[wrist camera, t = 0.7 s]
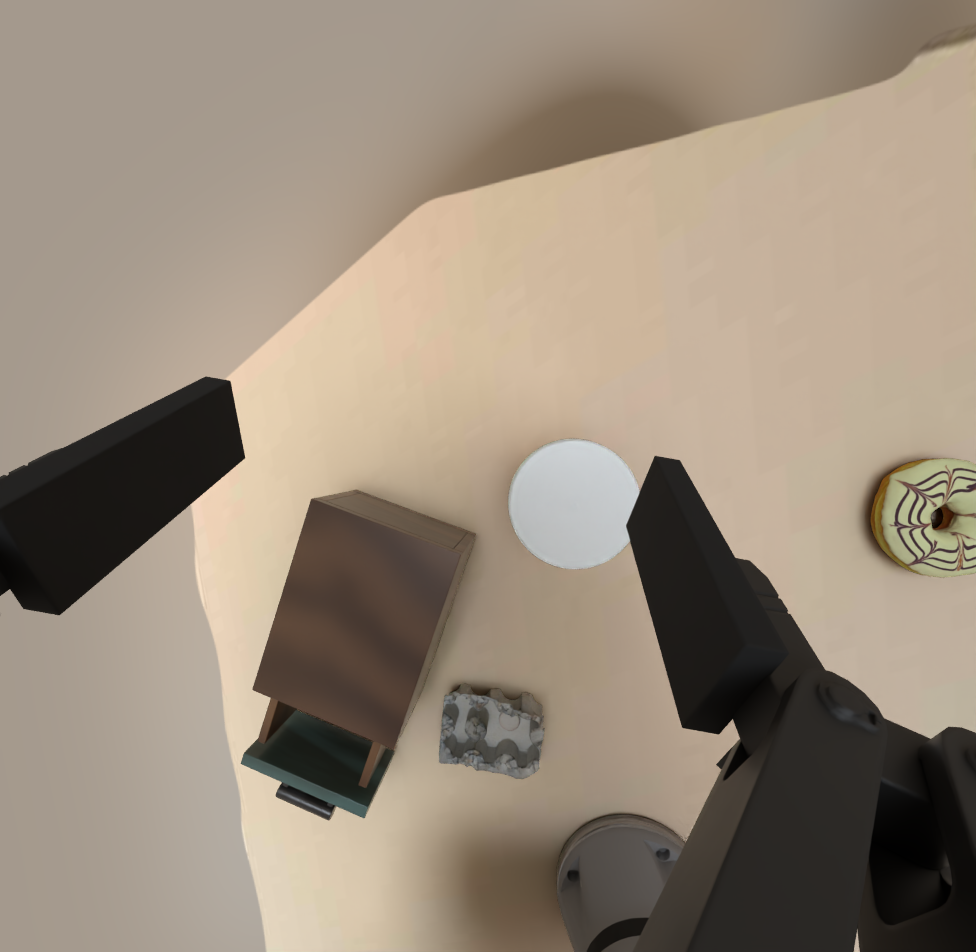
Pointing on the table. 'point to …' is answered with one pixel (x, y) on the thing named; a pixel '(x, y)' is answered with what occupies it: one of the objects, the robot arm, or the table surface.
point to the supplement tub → (572, 503)
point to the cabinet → (362, 613)
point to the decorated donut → (928, 517)
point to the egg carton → (492, 732)
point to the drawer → (317, 762)
